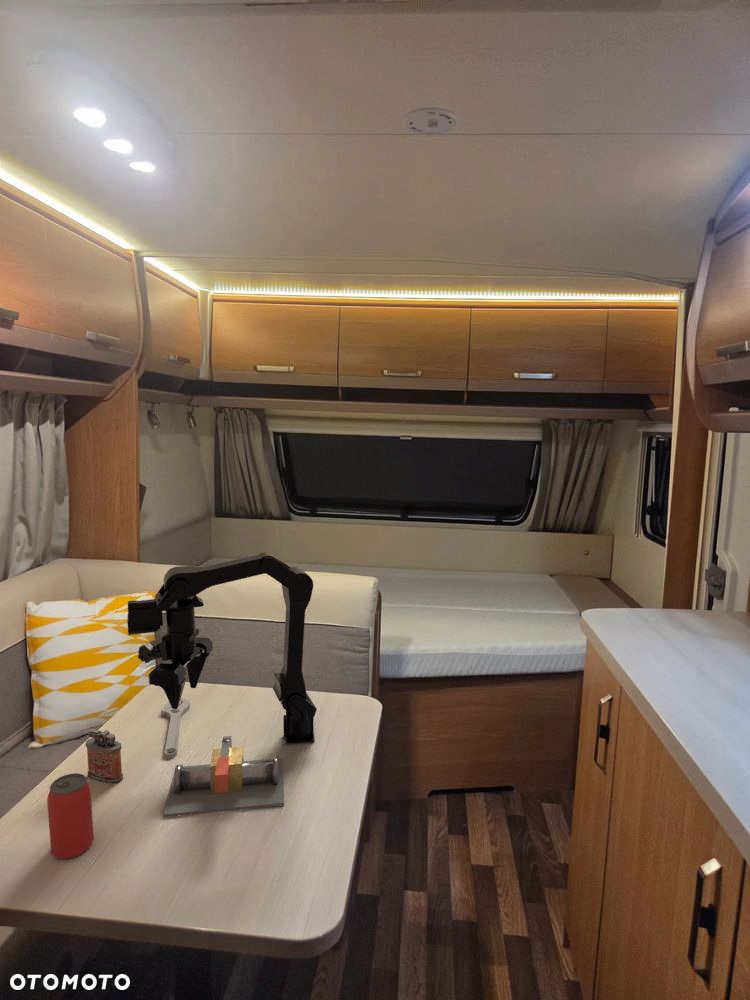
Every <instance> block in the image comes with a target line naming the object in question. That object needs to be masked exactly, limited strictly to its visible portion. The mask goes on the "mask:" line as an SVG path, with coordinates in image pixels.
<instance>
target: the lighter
mask: <svg viewBox="0 0 750 1000" xmlns="http://www.w3.org/2000/svg"><path fill="white" fill-rule="evenodd" d="M88 737H89V738H88V739H87V740H86V741H85V747H86V752H87V753H86V754H87V767H88V768H87V769H88V771H87V778H88V777H89V778H88V779H90V780H92V781H94V780H95V782H97V781H98V782H99V783H101V782H102V784H107V783H108V785H117V784H120V783H121V782H123V780H124V773H123V769H122V766H123V765H122V753H121V751H122V743H121V742H119V741H117V740H116V734H115V733H111V732H110V731H109V729H108V730H107V729H105V730H104V731H102V730H99V729H94V728H92V729H90V730H88Z"/></svg>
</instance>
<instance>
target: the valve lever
mask: <svg viewBox="0 0 750 1000" xmlns="http://www.w3.org/2000/svg"><path fill="white" fill-rule="evenodd" d="M220 747H221V748H220V749H221V753H220V758H218V760H217V766H216V772H215V793H221V792H228V789H229V781H230V759H231V755H232V748H233V746H232V735H228V736H223V737H222V740H221V746H220Z"/></svg>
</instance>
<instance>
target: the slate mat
mask: <svg viewBox="0 0 750 1000" xmlns="http://www.w3.org/2000/svg"><path fill="white" fill-rule="evenodd" d="M268 760H273V758H270V759H269V758H268V759H257V760H256V759H255V760H254V759H253V760H245V761H244V762H256V761H268ZM209 765H210V764H196V765H187V766H183V768H185V767H197V766H209ZM284 792H285V790H284V758H283V757H280V758H279V757H278V785H273V782H265V783H254V784H243V790H242V792H237V793H226V794H215V795H211V787H209V788H198V789H187V790H181V793H180V794H175V793H174V778H173V779H172V783H171V786H170V790H169V794H168V797H167V801H166V804H165V808H164V811H163V818H169V817H168V816H172V817H179V816H178V815H182V816H190V815H192V816H193V815H202V814H212V813H221V812H223V813H224V812H232V811H241V810H253V809H262V808H273V807H282V806H283V807H284V806H285V797H284V795H285V793H284Z"/></svg>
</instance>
